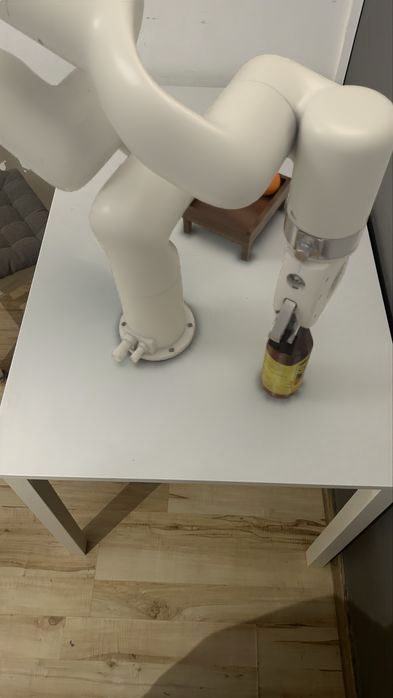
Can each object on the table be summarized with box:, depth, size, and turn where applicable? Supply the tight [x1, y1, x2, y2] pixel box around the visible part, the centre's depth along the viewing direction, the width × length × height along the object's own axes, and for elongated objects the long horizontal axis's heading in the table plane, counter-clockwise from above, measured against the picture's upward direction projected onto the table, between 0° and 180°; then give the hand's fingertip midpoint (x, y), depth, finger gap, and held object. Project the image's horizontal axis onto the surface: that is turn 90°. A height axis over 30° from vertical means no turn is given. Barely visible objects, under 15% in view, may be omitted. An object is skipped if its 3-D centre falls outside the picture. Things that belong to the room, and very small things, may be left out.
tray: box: [181, 172, 291, 262], centre depth 92 cm, size 16×14×7 cm
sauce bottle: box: [260, 308, 314, 399], centre depth 70 cm, size 6×6×20 cm
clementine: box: [263, 172, 280, 195], centre depth 90 cm, size 5×5×5 cm
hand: (298, 320), depth 63 cm, fingers open, 9 cm apart
